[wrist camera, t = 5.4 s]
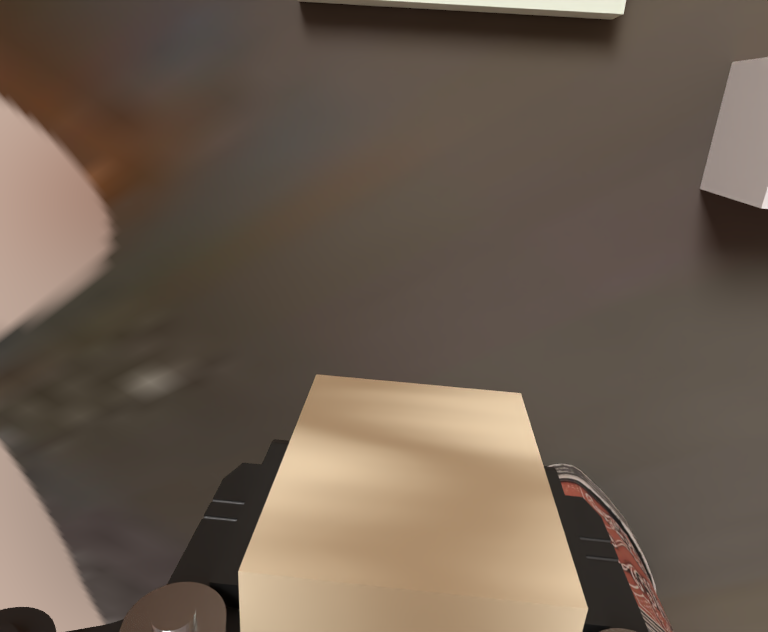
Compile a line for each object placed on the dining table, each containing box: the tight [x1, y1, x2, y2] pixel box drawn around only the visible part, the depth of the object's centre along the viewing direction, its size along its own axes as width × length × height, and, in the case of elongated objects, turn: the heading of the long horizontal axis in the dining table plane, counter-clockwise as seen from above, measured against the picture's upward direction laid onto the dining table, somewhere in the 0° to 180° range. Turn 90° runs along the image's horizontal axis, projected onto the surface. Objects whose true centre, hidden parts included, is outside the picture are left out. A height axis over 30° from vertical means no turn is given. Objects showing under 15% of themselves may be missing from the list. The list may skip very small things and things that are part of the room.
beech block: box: [238, 374, 588, 632], centre depth 10 cm, size 4×4×5 cm
